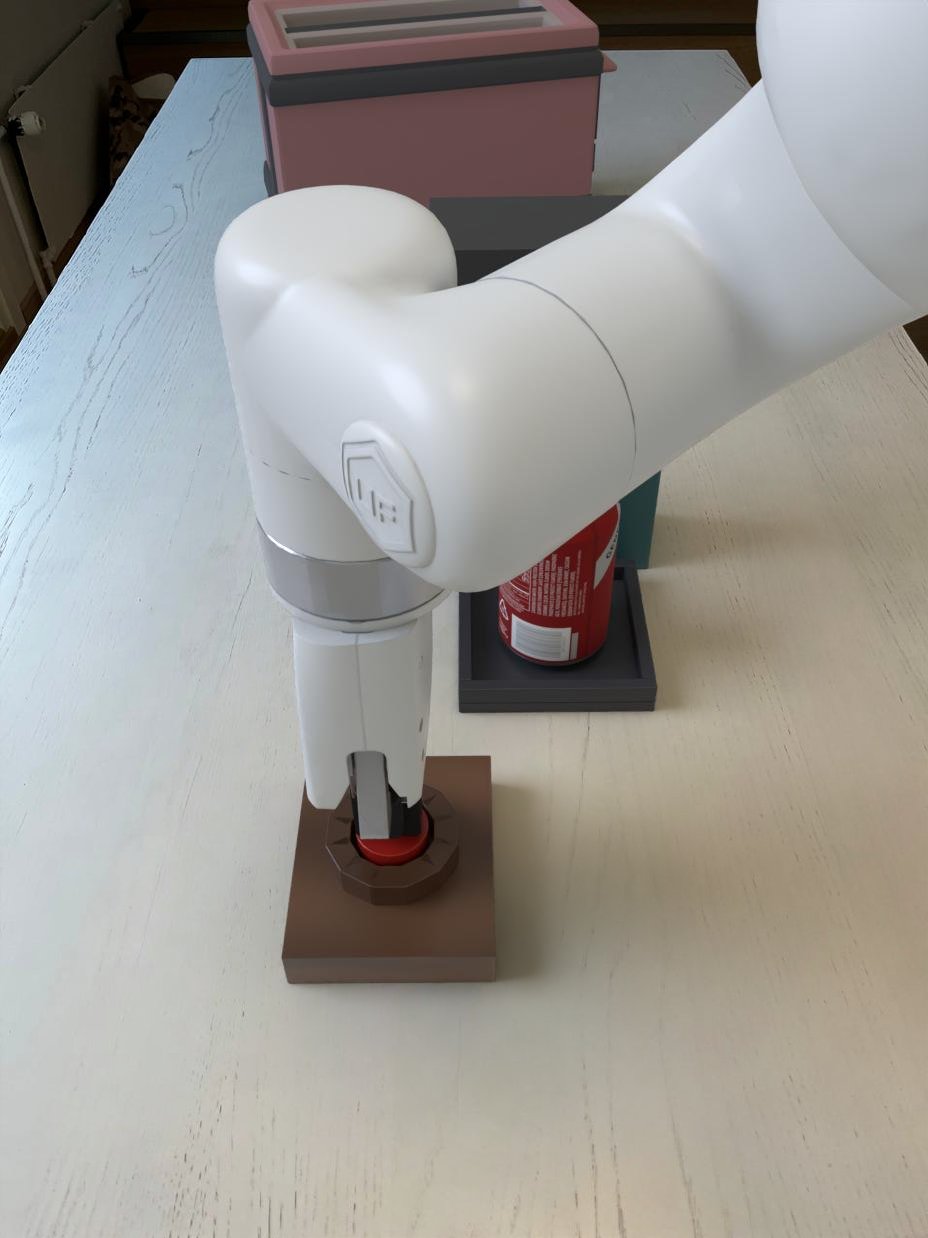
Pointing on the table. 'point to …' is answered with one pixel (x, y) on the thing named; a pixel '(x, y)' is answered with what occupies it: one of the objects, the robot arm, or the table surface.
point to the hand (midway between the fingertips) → (389, 822)
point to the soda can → (563, 598)
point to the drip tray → (590, 685)
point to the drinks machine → (509, 232)
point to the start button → (395, 847)
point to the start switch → (397, 891)
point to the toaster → (428, 95)
